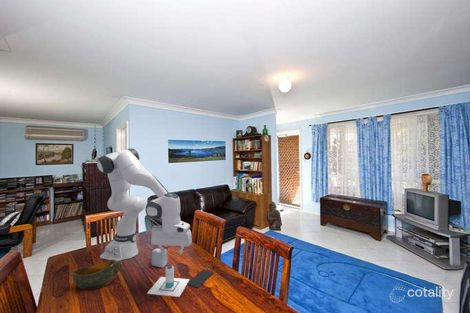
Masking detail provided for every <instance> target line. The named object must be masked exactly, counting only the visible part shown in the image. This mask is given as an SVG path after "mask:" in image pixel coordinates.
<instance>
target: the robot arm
mask: <svg viewBox="0 0 470 313" xmlns="http://www.w3.org/2000/svg"><path fill="white" fill-rule="evenodd" d="M96 165H97V168H98V170H99V172H101V173H102V174H105V175H107V177H108V178H107V179H108V181H109V185H110V188H111V196H110V197H109V199H108V200H107V208H108V209H109V210H110V211H113V212H117V213H123V215H122V217H121V218H120V219H119V220H118V221H117V223H116V233H115V234H114V235H113V236H112V238H114V239H113V240H111V242H110V243H108V244H107V245H106V246H105V247H104V252H102V253H101V254H100V255H99V258H100V259H104V260H106V261H110V260H115V261H116V262H118V261H123V260H127V259H131V258H133V257H135V256H137V255H138V254H139V250H138V245H137V244H138V243H137V238H138V237H137V235H138V234H137V220H138V216H139V215H140V214H141V212H143V210H145V214H146V216H147V217H148V218H149V219H151V220H156V219H157V220H159V219H161V223H162V224H161V225H154V226H152V228H151V233H152V234H151V238H150V240H151V241H150V243H151V245H154V246H157V245H158V246H157V248H158V249H160V250H161V253H164V252H165V250H166V249H165V248H164V247H163V246H174V247H175V246H176V247H180V248H181V249H180V248H179V250H178V255H182V254H184V253H183V250H184V248H185V247H190V246H191V245H192V242H193V238H192V232H191V230H190V227H191V225H190V224H189V223H187V222H184V221H182V220H181V200H180V196H179V195H178V194H176V193H173V192H169V191H168V190H167V188H165V186H164V185H163V184H162V183H161V182H160V181H159V179H158V178H156V176H155V175H153V174H151V173H150V171H148V170H147V169H146V168H145V167H144V165H143V164H142V163H141V162H140V156H139V152H138V151H137V150H136V149H134V148H126V149H121V150H117V151H114V152H111V153H108V154H103V155H102V156H100V157H99V156H98V158H97V159H96ZM132 186H138V187H139V186H140V187H144V188H148V189H150V191H152V192H153V193H154V194H155V196H156V197H157V198H155V199H151V200H149V201H148V202H147V203H146V199H145V198H143V197H142V196H138V195H130V194H128V191H129V189H131V187H132Z"/></svg>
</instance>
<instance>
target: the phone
mask: <svg viewBox="0 0 470 313" xmlns="http://www.w3.org/2000/svg"><path fill="white" fill-rule="evenodd" d="M213 275H214V272H213V271H211V270H208V269H202V270H201V271H199V272H198V273H197V274H196V275H195V276H194V277H192V278H191V279H189V282H188V283H187V285H186V286H189V287H191V288H195V289H199V288H200V287H202V286H203V284H205V283H206V282H207V281H208V280H209V279H210V278H211V277H212V276H213Z"/></svg>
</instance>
